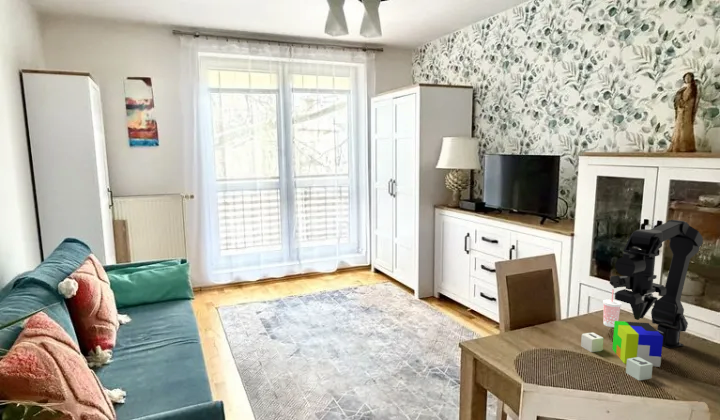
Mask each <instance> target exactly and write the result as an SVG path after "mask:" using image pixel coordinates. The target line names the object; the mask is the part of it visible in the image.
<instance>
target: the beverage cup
mask: <svg viewBox="0 0 720 420" xmlns="http://www.w3.org/2000/svg"><path fill="white" fill-rule="evenodd" d="M611 292H612V293H611V299H609V298H608V299H607V298H606V299H603V300H602V304H603V321H602V322H603V326H606V327H608V328H614V322H615V321H619V319H620V313H621V312H620V311H621V307H622V304H623V303H622V301H619V300H615V299H614V295H615V293H614V292H615V288H614V289H613V288H612V291H611Z"/></svg>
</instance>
